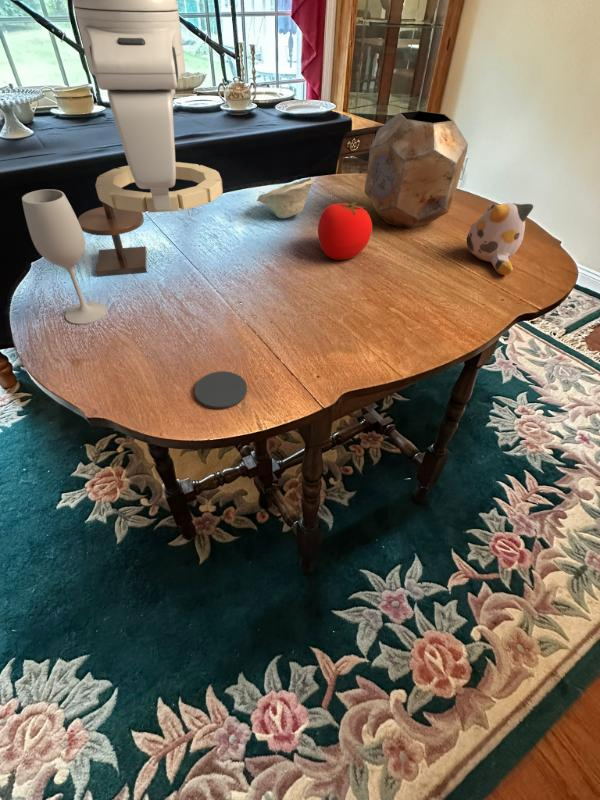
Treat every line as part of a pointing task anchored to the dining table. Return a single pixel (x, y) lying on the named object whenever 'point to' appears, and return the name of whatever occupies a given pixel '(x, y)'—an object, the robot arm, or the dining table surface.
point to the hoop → (184, 199)
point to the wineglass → (60, 243)
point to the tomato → (344, 230)
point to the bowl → (287, 198)
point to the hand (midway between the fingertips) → (162, 202)
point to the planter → (415, 168)
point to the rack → (115, 239)
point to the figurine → (499, 234)
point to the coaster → (220, 390)
